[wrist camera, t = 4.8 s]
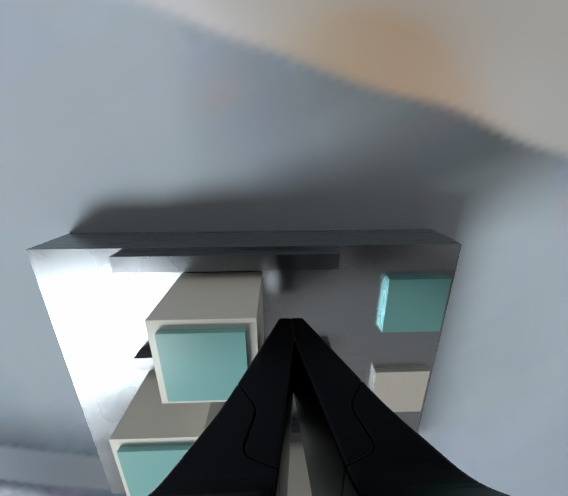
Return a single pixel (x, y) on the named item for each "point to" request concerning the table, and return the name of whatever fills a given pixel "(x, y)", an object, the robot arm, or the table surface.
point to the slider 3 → (298, 472)
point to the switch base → (276, 304)
